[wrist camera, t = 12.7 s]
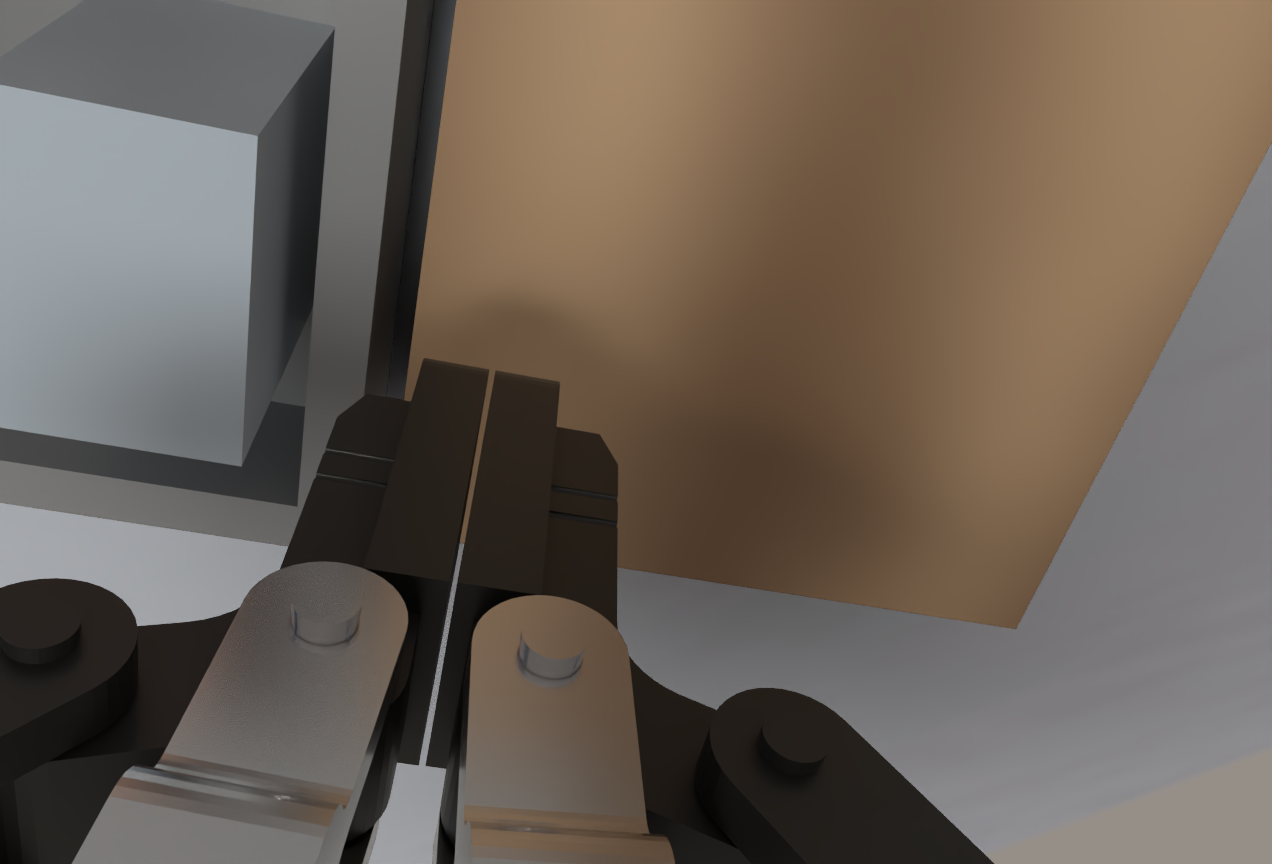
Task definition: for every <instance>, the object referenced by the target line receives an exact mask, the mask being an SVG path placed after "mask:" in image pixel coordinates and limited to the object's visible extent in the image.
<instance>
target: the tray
mask: <svg viewBox="0 0 1272 864" xmlns="http://www.w3.org/2000/svg"><path fill="white" fill-rule="evenodd" d="M83 1H84V0H0V57H1V56H3V55H4V54H6V53H7V52H9V51H10V50H12V49H13V48H15V47H16V46H18V45H19V44H20V43H22V42H23V41H25V40H26V39H28V38H29V37H31V36H32V35H34V34H35V33H37V32H38V31H40V30H41V29H43V28H44V27H46V26H47V25H49V24H50V23H52V22H53V21H55V20H56V19H58V18H59V17H61V16H62V15H64V14H65V13H67V12H68V11H70V10H71V9H72V8H74V7H75V6H77V5H78V4H80V3H81V2H83ZM213 1H218V2H222V3H227V4H232V5H237V6H241V7H246V8H251V9H255V10H260V11H265V12H269V13H274V14H279V15H283V16H288V17H293V18H297V19H302V20H307V21H311V22H316V23H321V24H326V25H330V26H335V34H334V47H333V60H332V72H331V85H330V98H329V111H328V124H327V136H326V149H325V162H324V175H323V187H322V200H321V213H320V226H319V239H318V251H317V264H316V277H315V290H314V302H313V308H312V310H311V312H310V314H309V317H308V319H307V321H306V323H305V326H304V328H303V330H302V332H301V335H300V337H299V339H298V341H297V344H296V346H295V348H294V350H293V352H292V355H291V357H290V359H289V361H288V364H287V366H286V368H285V370H284V373H283V375H282V377H281V379H280V382H279V384H278V386H277V388H276V391H275V393H274V395H273V397H272V399H271V402H270V404H269V406H268V408H267V411H266V413H265V415H264V417H263V420H262V422H261V424H260V426H259V429H258V431H257V433H256V435H255V438H254V440H253V442H252V444H251V447H250V449H249V451H248V453H247V455H246V458H245V460H244V462H243V464H242V467H241V466H235V465H228V464H222V463H216V462H210V461H204V460H198V459H191V458H185V457H179V456H173V455H167V454H161V453H154V452H148V451H142V450H136V449H130V448H124V447H117V446H111V445H105V444H99V443H93V442H87V441H80V440H74V439H68V438H62V437H56V436H50V435H43V434H37V433H31V432H25V431H19V430H13V429H6V428H0V503H5V504H12V505H19V506H25V507H32V508H38V509H45V510H52V511H58V512H65V513H71V514H78V515H84V516H91V517H98V518H104V519H111V520H117V521H124V522H131V523H137V524H144V525H150V526H157V527H164V528H170V529H177V530H183V531H190V532H196V533H203V534H210V535H216V536H223V537H229V538H236V539H243V540H249V541H256V542H262V543H269V544H276V545H282V546H289V544H290V541H291V539H292V536H293V533H294V531H295V528H296V525H297V523H298V520H299V517H300V515H301V512H302V509H303V507H304V504H305V501H306V499H307V496H308V493H309V491H310V488H311V485H312V483H313V480H314V478H316V472H317V469H318V467H319V464H320V461H321V459H322V456H323V453H325V449H326V445H327V443H328V440H329V437H330V435H331V432H332V429H333V427H334V424H335V421H336V419H337V417H338V416H339V415H340V414H341V413H343V412H344V411H345V410H347V409H348V408H349V407H350V406H352V405H353V404H354V403H356V402H357V401H358V400H359V399H361V398H362V397H363V396H365V395H366V394H371V395H377V396H383V397H386V394H387V386H388V377H389V369H390V361H391V353H392V344H393V336H394V328H395V320H396V311H397V303H398V295H399V287H400V278H401V270H402V262H403V254H404V246H405V237H406V229H407V221H408V213H409V204H410V196H411V188H412V180H413V171H414V163H415V155H416V147H417V138H418V130H419V122H420V114H421V105H422V97H423V89H424V81H425V72H426V64H427V56H428V48H429V39H430V31H431V23H432V15H433V6H434V0H213Z"/></svg>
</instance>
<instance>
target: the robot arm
mask: <svg viewBox="0 0 1272 864" xmlns="http://www.w3.org/2000/svg"><path fill="white" fill-rule="evenodd" d="M488 376H489V369H485V368H479V367H473V366H468V365H462V364H457V363H451V362H446V361H440V360H434V359H429V358H424V359H423V361H422V365H421V368H420V372H419V375H418V379H417V382H416V386H415V389H414V393H413V396H412V400H411V401H406V400H400V399H394V398H388V397H383V396H377V395H371V394H366V395H365V396H363V397H362V398H361V399H359V400H358V401H357V402H356V403H354V404H353V405H352V406H350V407H349V408H348V409H347V410H345V411H344V412H343V413H341V414H340V415H339V416H338V417H337V419H336V421H335V424H334V427H333V429H332V432H331V435H330V437H329V440H328V443H327V445H326V449H325V453H323V456H322V459H321V461H320V464H319V467H318V469H317V472H316V478H314V480H313V483H312V485H311V488H310V491H309V493H308V496H307V499H306V501H305V504H304V507H303V509H302V512H301V515H300V517H299V520H298V523H297V525H296V528H295V531H294V533H293V536H292V539H291V541H290V544H289V547H288V549H287V552H286V555H285V557H284V560H283V563H282V565H281V568H280V570H278V571H276V572H274V573H272V574H270V575H268V576H266V577H265V578H264V579H262V580H261V581H259V582H258V583H257V584H256V585H255V586H254V587H253V588H252V589H251V590H250V591H249V593H248V594H247V596H246V597H245V599H244V601H243V603H242V605H241V607H240V608H238V609H236V610H234V611H232V612H229V613H226V614H223V615H221V616H217V617H213V618H209V619H205V620H199V621H191V622H182V623H171V624H159V625H147V626H137V624H136V619H135V617H134V615H133V613H132V611H131V609H130V608H129V607H128V606H127V604H126V603H125V602H124V601H123V600H122V599H121V598H119V597H118V596H116V595H115V594H114V593H112V592H110V591H108V590H106V589H104V588H102V587H100V586H97V585H94V584H91V583H88V582H83V581H77V580H72V579H57V578H55V579H37V580H30V581H23V582H19V583H15V584H11V585H7V586H5V587H2V588H0V864H368V863H369V859H370V856H371V853H372V849H373V846H374V843H375V840H376V835H377V830H378V824H379V818H380V817H381V816H382V814H383V812H384V811H385V809H386V807H387V804H388V801H389V798H390V794H391V789H392V784H393V779H394V774H395V769H396V765H397V762H398V763H405V764H413V765H419V760H420V755H421V749H422V744H423V739H424V733H425V728H426V722H427V717H428V711H429V706H430V701H431V695H432V690H433V684H434V679H435V674H436V668H437V663H438V657H439V652H440V647H441V641H442V636H443V630H444V625H445V620H446V614H447V609H448V603H449V598H450V593H451V587H452V582H453V576H454V571H455V565H456V560H457V555H458V549H459V544H460V538H461V533H462V527H463V522H464V516H465V511H466V505H467V499H468V493H469V488H470V482H471V476H472V470H473V464H474V458H475V453H476V447H477V441H478V435H479V429H480V423H481V417H482V412H483V406H484V400H485V394H486V388H487V382H488ZM559 392H560V382H559V381H553V380H547V379H542V378H536V377H531V376H525V375H519V374H514V373H508V372H503V371H497V370H495V376H494V382H493V387H492V393H491V398H490V404H489V409H488V415H487V421H486V426H485V432H484V437H483V443H482V448H481V454H480V460H479V465H478V471H477V476H476V482H475V487H474V493H473V499H472V504H471V510H470V515H469V521H468V527H467V532H466V538H465V543H464V549H463V554H462V560H461V566H460V571H459V577H458V582H457V588H456V594H455V600H454V605H453V611H452V617H451V623H450V628H449V634H448V640H447V646H446V652H445V657H444V663H443V669H442V675H441V680H440V686H439V692H438V698H437V703H436V709H435V715H434V721H433V727H432V732H431V738H430V744H429V750H428V755H427V761H426V766H430V767H438V768H445V769H446V775H445V781H444V788H443V794H442V800H441V807H440V812H439V818H438V823H437V828H436V833H435V839H434V845H433V858H432V864H994V863H993V862H992V861H991V860H990V859H989V858H988V857H987V856H986V855H985V854H984V853H983V852H982V851H981V850H980V849H978V848H977V847H976V846H975V845H974V844H973V843H972V842H971V841H970V840H969V839H968V838H967V837H966V836H965V835H964V834H963V833H962V832H961V831H960V830H959V829H958V828H957V827H956V826H954V825H953V824H952V823H951V822H950V821H949V820H948V819H947V818H946V817H945V816H944V815H943V814H942V813H941V812H940V811H939V810H938V809H937V808H936V807H935V806H934V805H933V804H931V803H930V802H929V801H928V800H927V799H926V798H925V797H924V796H923V795H922V794H921V793H920V792H919V791H918V790H917V789H916V788H915V787H914V786H913V785H912V784H911V783H910V782H909V781H907V780H906V779H905V778H904V777H903V776H902V775H901V774H900V773H899V772H898V771H897V770H896V769H895V768H894V767H893V766H892V765H891V764H890V763H889V762H888V761H887V760H886V759H884V758H883V757H882V756H881V755H880V754H879V753H878V752H877V751H876V750H875V749H874V748H873V747H872V746H871V745H870V744H869V743H868V742H867V741H866V740H865V739H864V738H863V737H862V736H860V735H859V734H858V733H857V732H856V731H855V730H854V729H853V728H852V727H851V726H850V725H849V724H848V723H847V722H846V721H845V720H844V719H842V718H841V717H840V716H839V715H838V714H837V713H835V712H834V711H833V710H831V709H830V708H828V707H827V706H825V705H824V704H822V703H820V702H818V701H816V700H814V699H812V698H810V697H807V696H805V695H802V694H799V693H797V692H792V691H788V690H784V689H775V688H757V689H751V690H746V691H743V692H741V693H738V694H735V695H734V696H732V697H730V698H729V699H727V700H726V701H725V702H724V703H723V704H722V705H721V706H720V707H719V708H718V710H715V709H713V708H710V707H708V706H705V705H703V704H701V703H698V702H696V701H693V700H691V699H689V698H686V697H684V696H681V695H679V694H677V693H675V692H673V691H671V690H669V689H667V688H665V687H664V686H662V685H660V684H659V683H657V682H656V681H654V680H653V679H652V678H650V677H649V676H648V675H647V674H645V673H644V672H643V671H642V670H641V669H640V668H639V667H638V666H637V665H636V664H635V663H634V662H633V660H632V659H631V658H630V656H629V654H628V649H627V646H626V644H625V642H624V639H623V637H622V636H621V635H620V633H619V632H618V627H617V550H618V528H617V523H618V502H617V498H618V464H617V462H616V460H615V459H614V457H613V455H612V454H611V452H610V450H609V449H608V447H607V445H606V444H605V442H604V440H603V439H602V437H601V435H600V434H596V433H590V432H585V431H579V430H573V429H567V428H562V427H556V426H557V415H558V403H559Z"/></svg>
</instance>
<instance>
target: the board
mask: <svg viewBox="0 0 1272 864" xmlns="http://www.w3.org/2000/svg"><path fill="white" fill-rule="evenodd" d="M1271 142H1272V0H456V7H455V15H454V22H453V30H452V38H451V45H450V53H449V60H448V68H447V76H446V83H445V91H444V99H443V106H442V114H441V121H440V129H439V137H438V144H437V152H436V160H435V167H434V175H433V182H432V190H431V198H430V205H429V213H428V221H427V228H426V236H425V243H424V251H423V259H422V266H421V274H420V282H419V289H418V297H417V304H416V312H415V320H414V327H413V335H412V343H411V350H410V358H409V365H408V373H407V381H406V388H405V396H404V400H406V401H411V400H412V396H413V393H414V389H415V386H416V382H417V379H418V375H419V372H420V368H421V365H422V361H423V359H424V358H429V359H434V360H440V361H446V362H451V363H457V364H462V365H468V366H473V367H479V368H485V369H489V376H488V382H487V388H486V394H485V400H484V406H483V412H482V417H481V423H480V429H479V435H478V441H477V447H476V453H475V458H474V464H473V470H472V476H471V482H470V488H469V493H468V499H467V505H466V511H465V516H464V522H463V527H462V533H461V538H460V543H465V538H466V532H467V527H468V521H469V515H470V510H471V504H472V499H473V493H474V487H475V482H476V476H477V471H478V465H479V460H480V454H481V448H482V443H483V437H484V432H485V426H486V421H487V415H488V409H489V404H490V398H491V393H492V387H493V382H494V376H495V370H497V371H503V372H508V373H514V374H519V375H525V376H531V377H536V378H542V379H547V380H553V381H559V382H560V392H559V403H558V415H557V426H556V427H562V428H567V429H573V430H579V431H585V432H590V433H596V434H600V435H601V437H602V439H603V440H604V442H605V444H606V445H607V447H608V449H609V450H610V452H611V454H612V455H613V457H614V459H615V460H616V462H617V464H618V498H617V502H618V523H617V528H618V550H617V567H619V568H626V569H632V570H638V571H645V572H651V573H658V574H664V575H671V576H677V577H684V578H690V579H696V580H703V581H709V582H716V583H722V584H729V585H735V586H742V587H748V588H754V589H761V590H767V591H774V592H780V593H787V594H793V595H800V596H806V597H812V598H819V599H825V600H832V601H838V602H845V603H851V604H858V605H864V606H871V607H877V608H883V609H890V610H896V611H903V612H909V613H916V614H922V615H929V616H935V617H941V618H948V619H954V620H961V621H967V622H974V623H980V624H987V625H993V626H999V627H1006V628H1012V629H1016V628H1017V626H1018V624H1019V622H1020V620H1021V618H1022V616H1023V615H1024V613H1025V611H1026V609H1027V607H1028V605H1029V603H1030V601H1031V599H1032V597H1033V595H1034V594H1035V592H1036V590H1037V588H1038V586H1039V584H1040V582H1041V580H1042V578H1043V576H1044V575H1045V573H1046V571H1047V569H1048V567H1049V565H1050V563H1051V561H1052V559H1053V557H1054V556H1055V554H1056V552H1057V550H1058V548H1059V546H1060V544H1061V542H1062V540H1063V538H1064V536H1065V535H1066V533H1067V531H1068V529H1069V527H1070V525H1071V523H1072V521H1073V519H1074V517H1075V516H1076V514H1077V512H1078V510H1079V508H1080V506H1081V504H1082V502H1083V500H1084V498H1085V497H1086V495H1087V493H1088V491H1089V489H1090V487H1091V485H1092V483H1093V481H1094V479H1095V477H1096V476H1097V474H1098V472H1099V470H1100V468H1101V466H1102V464H1103V462H1104V460H1105V458H1106V457H1107V455H1108V453H1109V451H1110V449H1111V447H1112V445H1113V443H1114V441H1115V439H1116V437H1117V436H1118V434H1119V432H1120V430H1121V428H1122V426H1123V424H1124V422H1125V420H1126V418H1127V417H1128V415H1129V413H1130V411H1131V409H1132V407H1133V405H1134V403H1135V401H1136V399H1137V398H1138V396H1139V394H1140V392H1141V390H1142V388H1143V386H1144V384H1145V382H1146V380H1147V378H1148V377H1149V375H1150V373H1151V371H1152V369H1153V367H1154V365H1155V363H1156V361H1157V359H1158V358H1159V356H1160V354H1161V352H1162V350H1163V348H1164V346H1165V344H1166V342H1167V340H1168V339H1169V337H1170V335H1171V333H1172V331H1173V329H1174V327H1175V325H1176V323H1177V321H1178V319H1179V318H1180V316H1181V314H1182V312H1183V310H1184V308H1185V306H1186V304H1187V302H1188V300H1189V299H1190V297H1191V295H1192V293H1193V291H1194V289H1195V287H1196V285H1197V283H1198V281H1199V280H1200V278H1201V276H1202V274H1203V272H1204V270H1205V268H1206V266H1207V264H1208V262H1209V260H1210V259H1211V257H1212V255H1213V253H1214V251H1215V249H1216V247H1217V245H1218V243H1219V241H1220V240H1221V238H1222V236H1223V234H1224V232H1225V230H1226V228H1227V226H1228V224H1229V222H1230V221H1231V219H1232V217H1233V215H1234V213H1235V211H1236V209H1237V207H1238V205H1239V203H1240V201H1241V200H1242V198H1243V196H1244V194H1245V192H1246V190H1247V188H1248V186H1249V184H1250V182H1251V181H1252V179H1253V177H1254V175H1255V173H1256V171H1257V169H1258V167H1259V165H1260V163H1261V162H1262V160H1263V158H1264V156H1265V154H1266V152H1267V150H1268V148H1269V146H1270V144H1271Z"/></svg>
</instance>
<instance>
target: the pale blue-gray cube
mask: <svg viewBox="0 0 1272 864" xmlns="http://www.w3.org/2000/svg"><path fill="white" fill-rule="evenodd" d="M334 34H335V26H330V25H326V24H321V23H316V22H311V21H307V20H302V19H297V18H293V17H288V16H283V15H279V14H274V13H269V12H265V11H260V10H255V9H251V8H246V7H241V6H237V5H232V4H227V3H222V2H218V1H213V0H84V1H83V2H81V3H80V4H78V5H77V6H75V7H74V8H72V9H71V10H70V11H68V12H67V13H65V14H64V15H62V16H61V17H59V18H58V19H56V20H55V21H53V22H52V23H50V24H49V25H47V26H46V27H44V28H43V29H41V30H40V31H38V32H37V33H35V34H34V35H32V36H31V37H29V38H28V39H26V40H25V41H23V42H22V43H20V44H19V45H18V46H16V47H15V48H13V49H12V50H10V51H9V52H7V53H6V54H4V55H3V56H1V57H0V428H6V429H13V430H19V431H25V432H31V433H37V434H43V435H50V436H56V437H62V438H68V439H74V440H80V441H87V442H93V443H99V444H105V445H111V446H117V447H124V448H130V449H136V450H142V451H148V452H154V453H161V454H167V455H173V456H179V457H185V458H191V459H198V460H204V461H210V462H216V463H222V464H228V465H235V466H241V467H242V464H243V462H244V460H245V458H246V455H247V453H248V451H249V449H250V447H251V444H252V442H253V440H254V438H255V435H256V433H257V431H258V429H259V426H260V424H261V422H262V420H263V417H264V415H265V413H266V411H267V408H268V406H269V404H270V402H271V399H272V397H273V395H274V393H275V391H276V388H277V386H278V384H279V382H280V379H281V377H282V375H283V373H284V370H285V368H286V366H287V364H288V361H289V359H290V357H291V355H292V352H293V350H294V348H295V346H296V344H297V341H298V339H299V337H300V335H301V332H302V330H303V328H304V326H305V323H306V321H307V319H308V317H309V314H310V312H311V310H312V308H313V302H314V290H315V277H316V264H317V251H318V239H319V226H320V213H321V200H322V187H323V175H324V162H325V149H326V136H327V124H328V111H329V98H330V85H331V72H332V60H333V47H334Z"/></svg>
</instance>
